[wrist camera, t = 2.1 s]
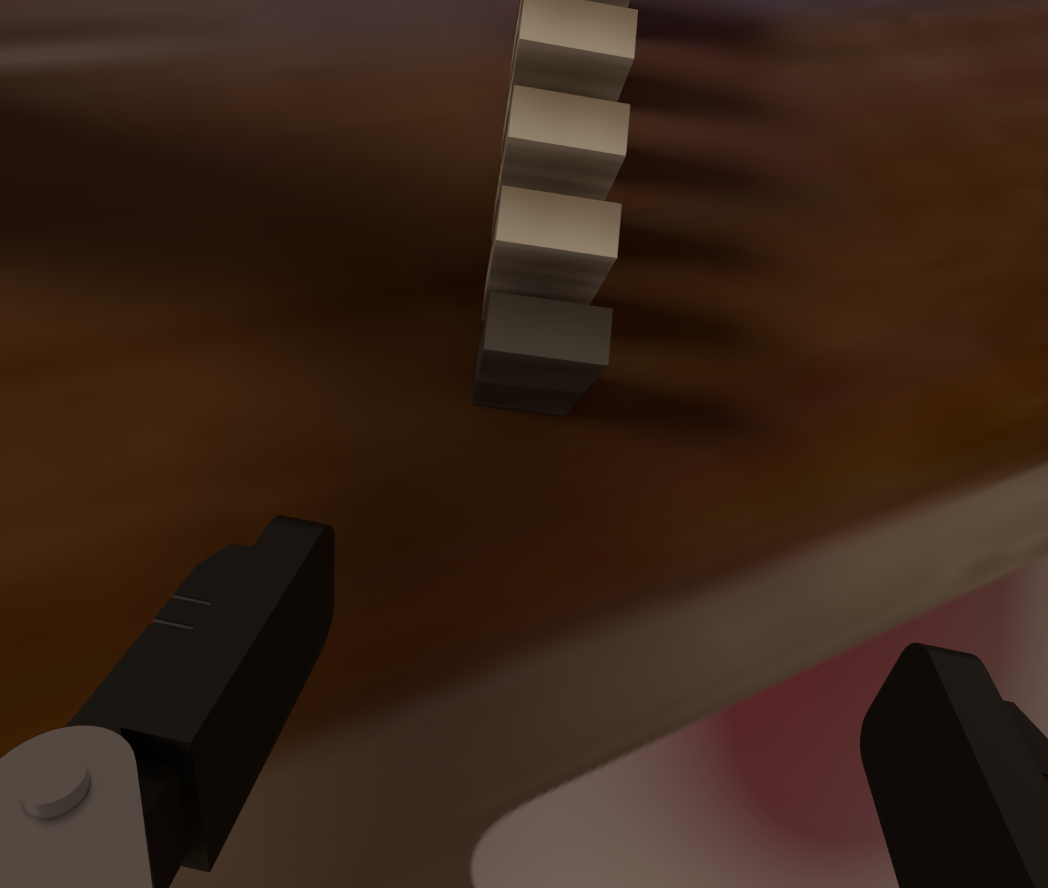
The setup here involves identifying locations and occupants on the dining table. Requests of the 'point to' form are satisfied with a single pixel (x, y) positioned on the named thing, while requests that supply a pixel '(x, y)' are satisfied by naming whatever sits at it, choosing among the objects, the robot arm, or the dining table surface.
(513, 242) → the domino
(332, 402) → the dining table surface
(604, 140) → the domino
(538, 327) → the domino
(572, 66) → the domino
